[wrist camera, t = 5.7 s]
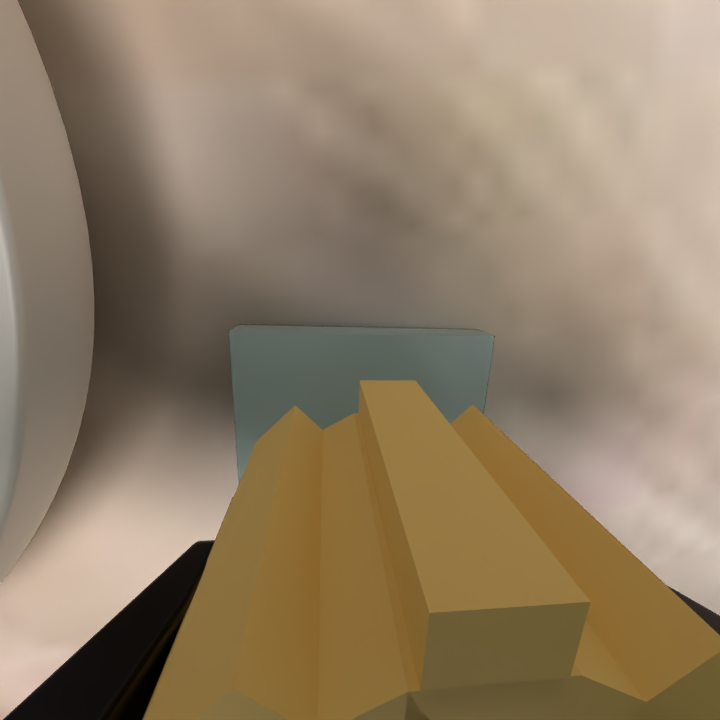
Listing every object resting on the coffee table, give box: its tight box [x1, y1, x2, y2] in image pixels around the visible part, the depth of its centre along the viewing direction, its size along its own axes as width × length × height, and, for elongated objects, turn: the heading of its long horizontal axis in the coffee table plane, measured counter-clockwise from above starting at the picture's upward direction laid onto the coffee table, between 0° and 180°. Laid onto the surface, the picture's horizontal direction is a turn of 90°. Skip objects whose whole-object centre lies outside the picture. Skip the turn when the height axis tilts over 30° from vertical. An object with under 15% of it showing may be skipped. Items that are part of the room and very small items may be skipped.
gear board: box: [229, 325, 495, 483], centre depth 11 cm, size 8×16×6 cm, turn 178°
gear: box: [143, 380, 720, 720], centre depth 6 cm, size 7×7×5 cm
